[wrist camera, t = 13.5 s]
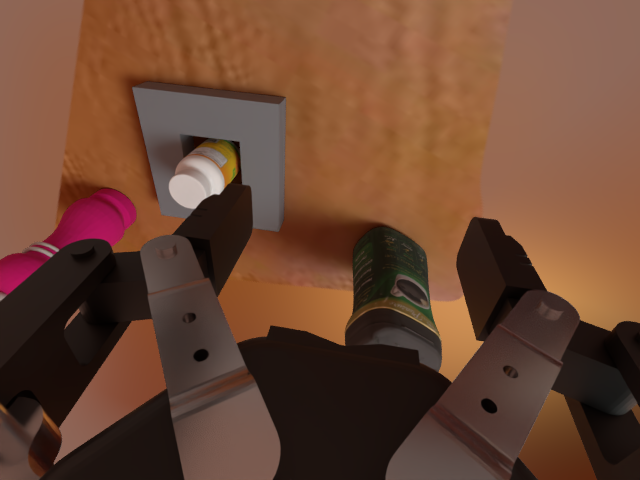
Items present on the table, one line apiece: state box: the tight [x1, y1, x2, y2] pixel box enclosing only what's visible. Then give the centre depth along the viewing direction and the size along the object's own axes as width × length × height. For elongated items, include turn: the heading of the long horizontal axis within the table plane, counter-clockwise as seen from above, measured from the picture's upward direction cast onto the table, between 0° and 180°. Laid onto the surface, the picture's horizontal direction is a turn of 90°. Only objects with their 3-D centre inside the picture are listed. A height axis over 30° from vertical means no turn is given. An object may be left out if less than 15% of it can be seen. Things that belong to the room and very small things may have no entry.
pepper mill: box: [0, 189, 136, 301], centre depth 42 cm, size 7×7×20 cm
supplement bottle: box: [169, 138, 241, 209], centre depth 39 cm, size 5×5×10 cm
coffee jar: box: [345, 227, 442, 372], centre depth 40 cm, size 10×8×19 cm
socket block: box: [132, 81, 286, 232], centre depth 42 cm, size 16×16×3 cm
